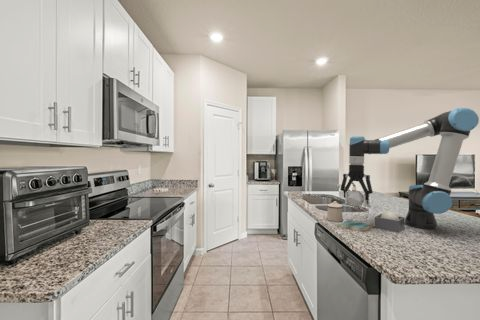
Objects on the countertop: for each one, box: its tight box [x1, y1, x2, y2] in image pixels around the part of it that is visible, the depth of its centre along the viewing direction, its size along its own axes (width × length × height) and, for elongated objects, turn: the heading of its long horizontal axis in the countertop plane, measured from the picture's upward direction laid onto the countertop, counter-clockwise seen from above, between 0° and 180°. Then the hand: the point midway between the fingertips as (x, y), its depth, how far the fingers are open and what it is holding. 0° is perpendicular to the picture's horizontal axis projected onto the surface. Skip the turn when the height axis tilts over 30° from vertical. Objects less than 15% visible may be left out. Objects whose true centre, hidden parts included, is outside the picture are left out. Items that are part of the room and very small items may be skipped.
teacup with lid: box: [326, 200, 344, 223], centre depth 157 cm, size 12×9×12 cm
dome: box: [380, 210, 400, 221], centre depth 139 cm, size 9×9×9 cm
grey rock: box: [347, 190, 364, 207], centre depth 141 cm, size 8×9×10 cm
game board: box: [337, 219, 374, 233], centre depth 141 cm, size 14×14×1 cm
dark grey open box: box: [374, 213, 406, 234], centre depth 139 cm, size 12×12×6 cm
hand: (355, 204), depth 141 cm, fingers closed on grey rock, 9 cm apart
